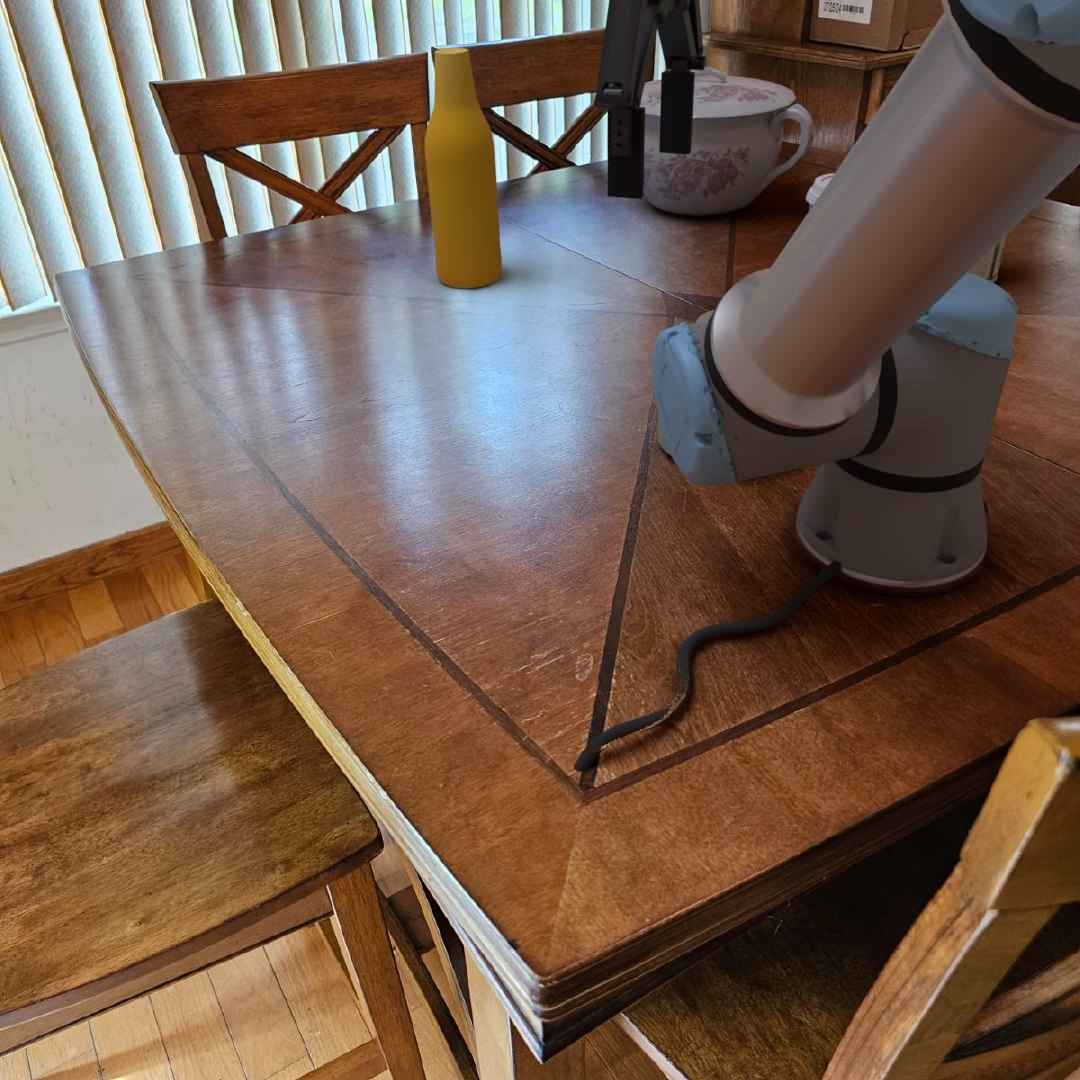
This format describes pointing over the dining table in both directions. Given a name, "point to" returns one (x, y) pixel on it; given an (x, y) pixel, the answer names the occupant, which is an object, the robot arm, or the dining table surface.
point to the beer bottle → (461, 178)
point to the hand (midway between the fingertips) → (651, 173)
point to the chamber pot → (721, 144)
